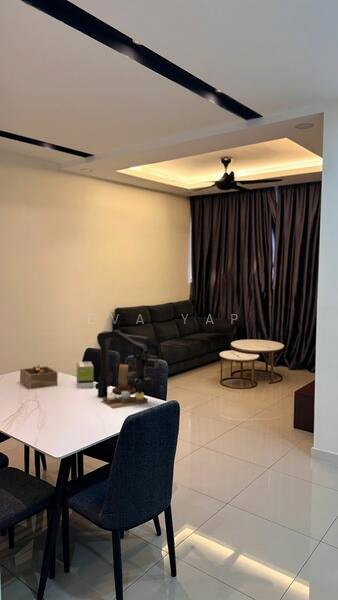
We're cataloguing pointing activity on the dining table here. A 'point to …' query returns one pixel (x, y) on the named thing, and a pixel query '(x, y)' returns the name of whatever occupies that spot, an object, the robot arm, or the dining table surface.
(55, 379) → the box
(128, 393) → the slate button
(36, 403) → the dining table surface
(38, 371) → the bear figurine
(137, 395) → the mustard button
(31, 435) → the dining table surface
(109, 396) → the cream button
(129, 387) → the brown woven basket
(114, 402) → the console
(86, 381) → the tea box
